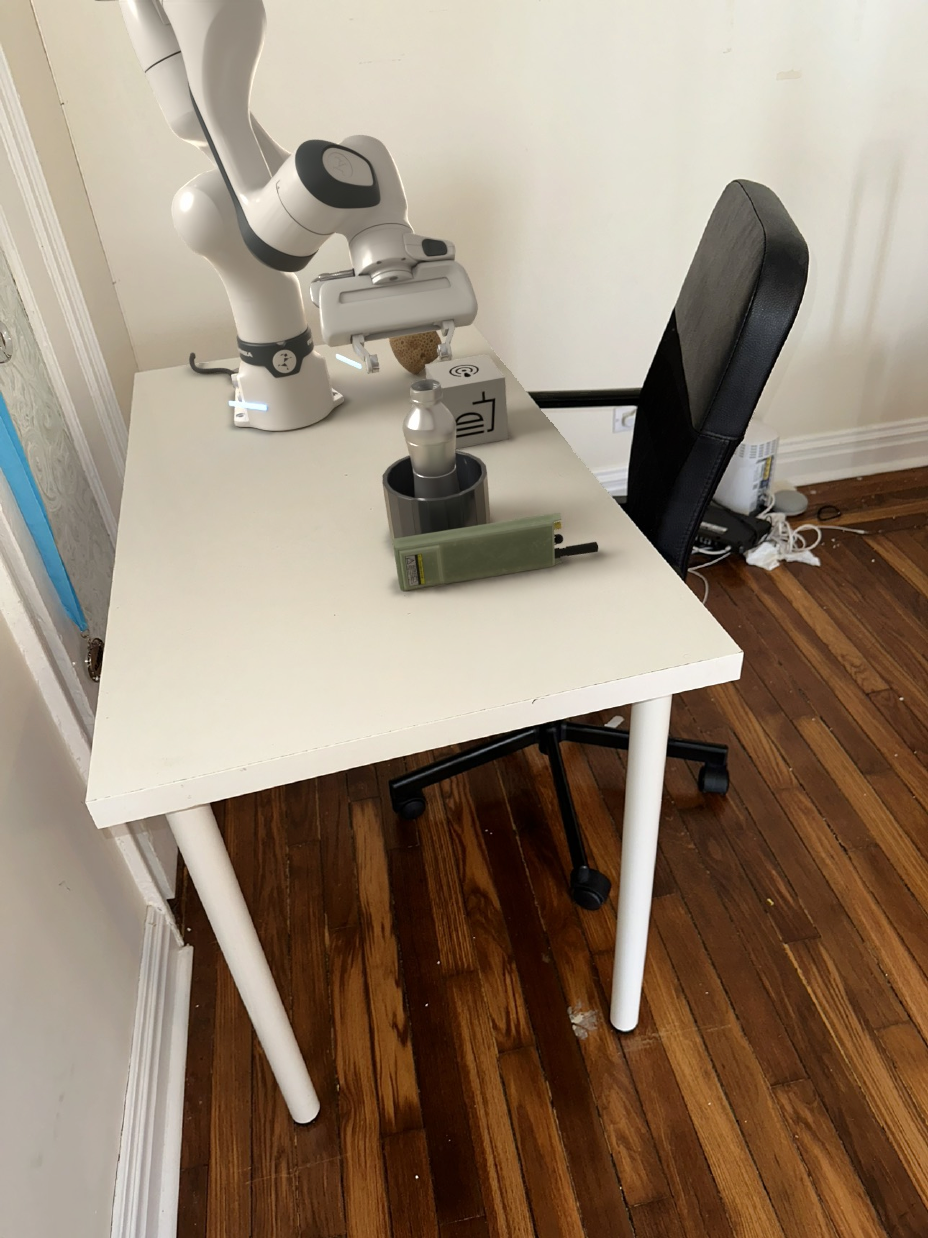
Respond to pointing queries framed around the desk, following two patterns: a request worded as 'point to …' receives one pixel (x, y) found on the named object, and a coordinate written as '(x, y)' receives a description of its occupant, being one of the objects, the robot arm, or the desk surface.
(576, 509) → the desk surface
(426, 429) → the metal bottle
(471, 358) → the icon cube
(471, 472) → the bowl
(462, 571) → the handheld radio
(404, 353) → the natural sponge
